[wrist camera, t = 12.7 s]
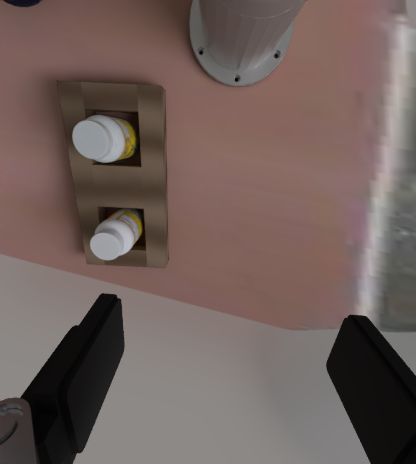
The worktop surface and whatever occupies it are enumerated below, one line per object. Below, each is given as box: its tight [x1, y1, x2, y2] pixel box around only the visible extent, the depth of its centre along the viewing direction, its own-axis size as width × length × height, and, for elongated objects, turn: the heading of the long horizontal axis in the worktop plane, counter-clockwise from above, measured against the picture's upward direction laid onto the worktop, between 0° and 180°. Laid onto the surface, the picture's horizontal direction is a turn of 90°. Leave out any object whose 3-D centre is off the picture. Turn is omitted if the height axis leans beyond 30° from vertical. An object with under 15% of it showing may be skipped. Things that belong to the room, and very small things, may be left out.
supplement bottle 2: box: [90, 208, 145, 260], centre depth 35 cm, size 5×5×10 cm
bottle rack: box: [57, 81, 169, 268], centre depth 36 cm, size 26×13×3 cm, turn 177°
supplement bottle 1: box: [72, 115, 139, 163], centre depth 30 cm, size 5×5×10 cm
